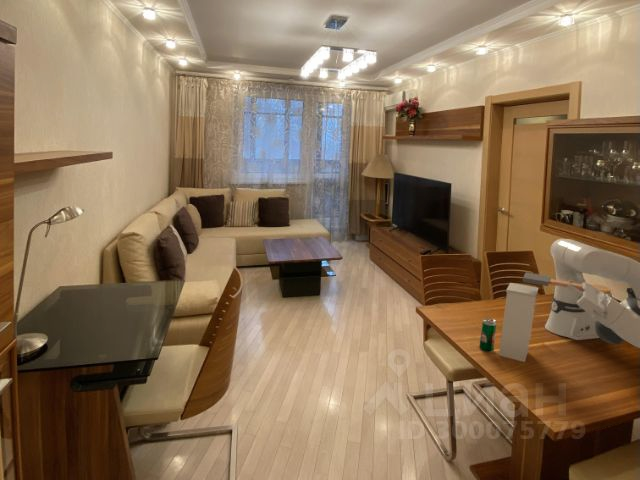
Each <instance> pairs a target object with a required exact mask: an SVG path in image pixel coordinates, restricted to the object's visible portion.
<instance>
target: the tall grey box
mask: <svg viewBox="0 0 640 480" xmlns="http://www.w3.org/2000/svg"><path fill="white" fill-rule="evenodd" d="M505 291H506V292H505V293H506V298H505V306H504V312H503V313H504V314H503V321H502V328H501V335H500V337H501V338H500V343H499V350H498V356H501V357H504V358H507V359H511V360H515V361H520V362H523V363H525V362H526V360H527V357H528V353H529V348H530V341H531V335H532V334H531V333H532V326H533V321H534V313H535V308H536V301H537V295H538V291H539V287H536V286H531V285H525V284H520V283H513V282H510V283H509V284H508V286H507V288H506V290H505Z"/></svg>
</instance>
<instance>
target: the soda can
mask: <svg viewBox="0 0 640 480" xmlns="http://www.w3.org/2000/svg"><path fill="white" fill-rule="evenodd" d="M481 323H482V324H481V332H480V338H479V346H478V347H479V349H480V351H482V352H484V353H485V352H486V353H491V352H493V350H494V348H495V347H494V346H495V340H496V332H497V322H496V319H493V318H491V317H490V318H489V317H488V318H487V317H486V318H484V319H483V321H482V322H481Z"/></svg>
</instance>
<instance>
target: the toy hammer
mask: <svg viewBox="0 0 640 480" xmlns="http://www.w3.org/2000/svg"><path fill="white" fill-rule="evenodd" d="M522 283H527V284H533V285H540V286H545V287H549V285H550V286H555V287H556V286H561V287H567V285H568V284H569V283H570V284H572V285H574V287H576V288H577V289H579V290H582V287H583V284H578V283H572V282H566V281H560V280H556V279H553V278H551V276H550V275H545V274H539V273H533V272H528V271H527V272H525V273H524V275H523V277H522Z"/></svg>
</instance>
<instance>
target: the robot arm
mask: <svg viewBox="0 0 640 480" xmlns="http://www.w3.org/2000/svg"><path fill="white" fill-rule="evenodd" d="M549 251H550V255H551V257H552V259H553V263H554V268H555V276H556V277H555V278H556V279H555V280H560V281H566V282H572V283H578V284H583V287H582V290H579V289H577V288H576V287H574V285H572V284H570V283H569V284H568V285H567V287H561V286H556V285H555V288H554V295H553V296H552V299H551V300H552V301H551V305H550V306H551V309H550V312H549V313H550V314H549V316H548V319H547V321H546V323H545V324H544V327H545V329H546V330H547V331H548V332H550V333H553V334H555V335H557V336H562V337H567V338H569V339H571V340H576V341H583V340H592V339H600V340H602V341H603V342H605V343H607V344H612V345H621V344H622V343H623V342H625V341H626V342H627V343H629V344H631V345H632V346H634V347H636V348H638V349H640V262H639V261H637V260H635V259H633V258H631V257H628V256H625V255H622V254H619V253H615V252H613V251H608V250H606V249H602V248H598V247H595V246H591V245H588V244H586V243H583V242H580V241H577V240H574V239H573V238H571V239H570V238H557V239H556V240H555V241H553V243H552V244H551V245H550V250H549ZM584 274H587V275H591V276H592V275H593V276H597V277H601V278H604V279H607V280H610V281H614V282H618V283H622V284H625V285H627V286H628V287H627V288H626V293H627V297H626V298H624V299H623V300H622V301H618V300H617V299H615V298H614V297H613V296H612V295H610V294H609V293H605V292H603V291H602V290H600V289H598V288H597V287H595V286H594V285H592V284H590V283H588V282H587V281H586V279H585V278H584Z"/></svg>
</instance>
